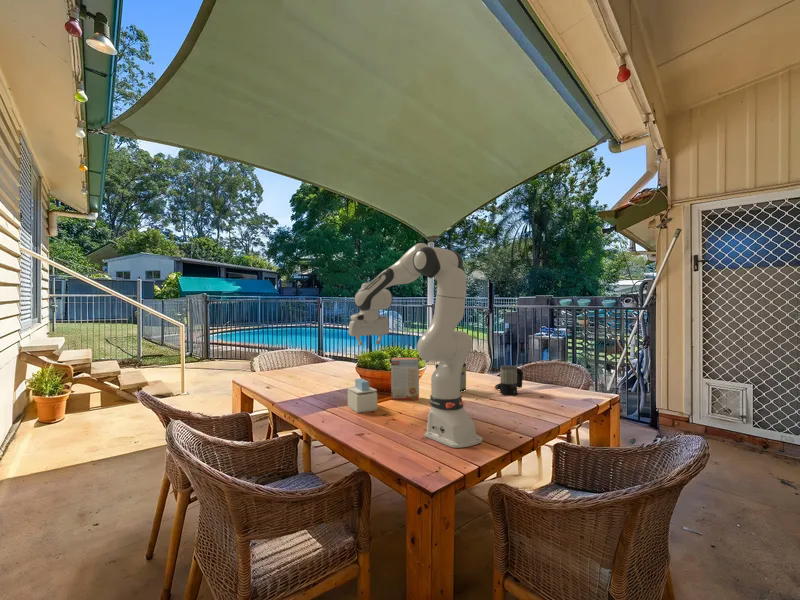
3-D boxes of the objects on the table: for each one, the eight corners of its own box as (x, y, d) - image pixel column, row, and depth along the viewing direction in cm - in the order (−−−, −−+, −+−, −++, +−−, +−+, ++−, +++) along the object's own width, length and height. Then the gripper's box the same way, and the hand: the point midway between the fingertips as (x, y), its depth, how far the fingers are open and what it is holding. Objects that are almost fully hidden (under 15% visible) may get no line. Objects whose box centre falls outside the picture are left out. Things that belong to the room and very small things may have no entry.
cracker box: (419, 397, 197) (419, 357, 197) (418, 400, 191) (418, 359, 191) (392, 396, 198) (392, 357, 198) (391, 399, 192) (390, 358, 192)
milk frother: (512, 397, 197) (512, 368, 197) (485, 391, 208) (485, 365, 208) (525, 392, 207) (525, 365, 207) (499, 387, 218) (499, 361, 218)
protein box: (435, 393, 206) (435, 364, 206) (450, 387, 218) (450, 360, 218) (451, 396, 199) (451, 366, 199) (466, 390, 211) (466, 362, 211)
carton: (377, 410, 175) (377, 392, 175) (357, 413, 170) (357, 395, 170) (366, 403, 186) (366, 387, 185) (347, 406, 181) (347, 389, 181)
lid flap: (376, 391, 175) (376, 389, 175) (357, 393, 170) (357, 392, 170) (366, 386, 185) (366, 385, 185) (348, 389, 181) (348, 388, 181)
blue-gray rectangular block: (369, 390, 174) (369, 381, 174) (361, 391, 173) (361, 382, 173) (362, 386, 183) (362, 378, 183) (355, 387, 182) (355, 379, 182)
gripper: (385, 315, 190) (385, 342, 190) (347, 316, 180) (347, 345, 180) (391, 315, 185) (391, 343, 185) (352, 316, 175) (352, 346, 175)
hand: (369, 344), depth 182 cm, fingers open, 8 cm apart
